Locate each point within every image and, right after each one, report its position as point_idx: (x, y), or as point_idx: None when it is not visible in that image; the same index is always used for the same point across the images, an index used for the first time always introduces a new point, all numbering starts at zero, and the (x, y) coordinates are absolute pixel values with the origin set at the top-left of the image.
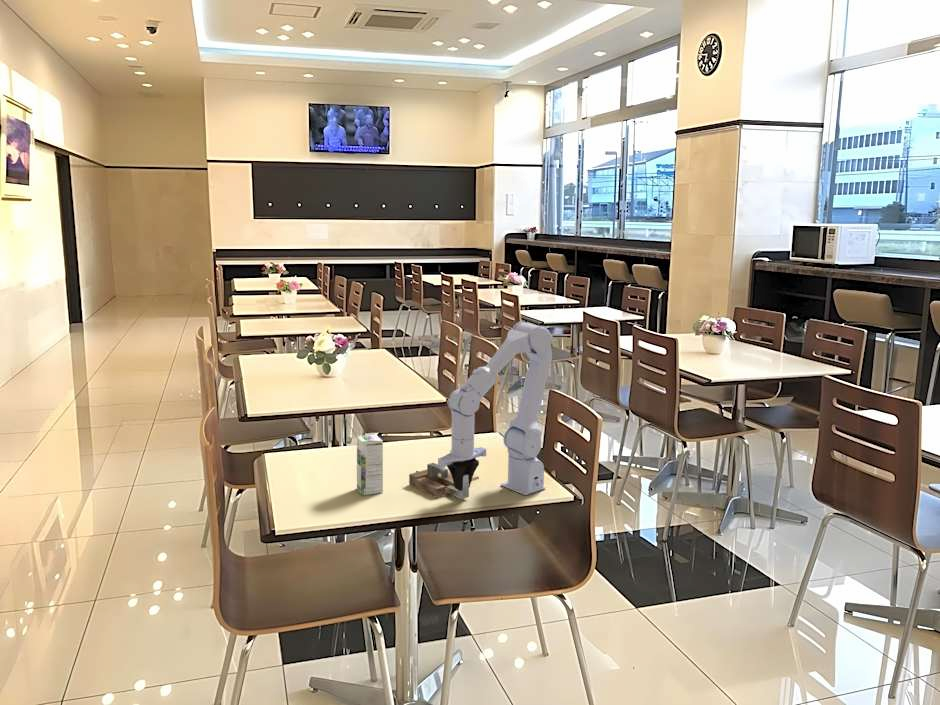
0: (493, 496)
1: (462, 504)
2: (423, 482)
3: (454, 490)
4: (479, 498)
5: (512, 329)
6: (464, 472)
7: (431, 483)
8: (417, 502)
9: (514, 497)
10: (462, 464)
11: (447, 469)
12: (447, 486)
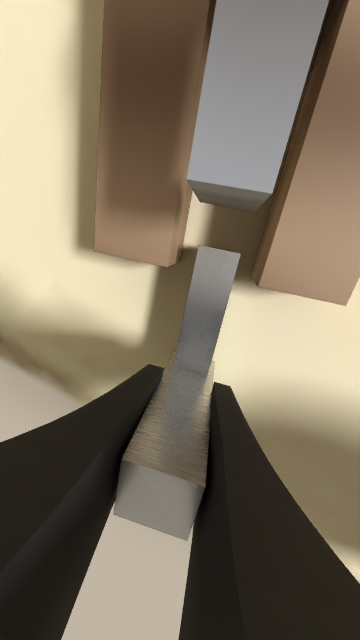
0: (313, 452)
1: None
2: (106, 27)
3: (181, 329)
4: (252, 415)
5: None
6: (211, 496)
7: (139, 119)
8: (12, 208)
9: (353, 519)
10: (216, 615)
11: (263, 193)
12: (205, 252)
